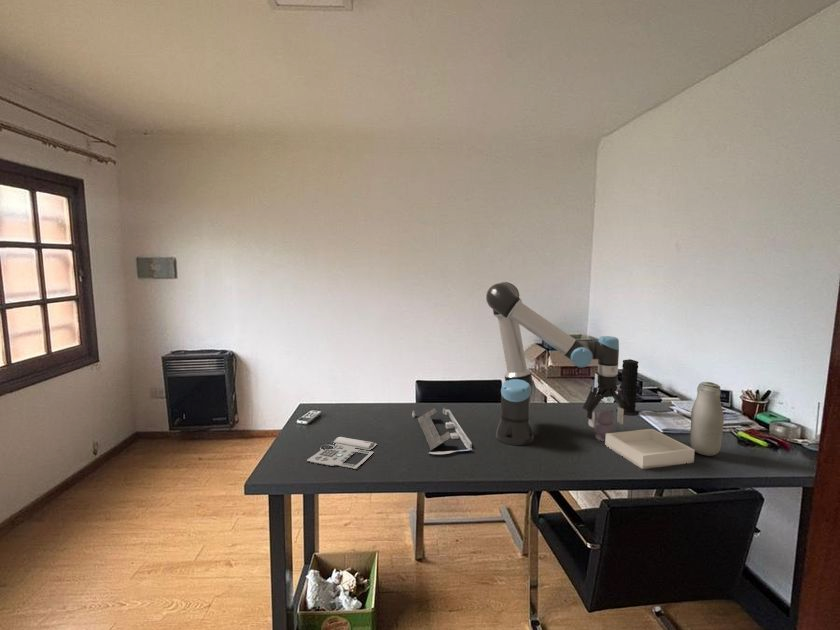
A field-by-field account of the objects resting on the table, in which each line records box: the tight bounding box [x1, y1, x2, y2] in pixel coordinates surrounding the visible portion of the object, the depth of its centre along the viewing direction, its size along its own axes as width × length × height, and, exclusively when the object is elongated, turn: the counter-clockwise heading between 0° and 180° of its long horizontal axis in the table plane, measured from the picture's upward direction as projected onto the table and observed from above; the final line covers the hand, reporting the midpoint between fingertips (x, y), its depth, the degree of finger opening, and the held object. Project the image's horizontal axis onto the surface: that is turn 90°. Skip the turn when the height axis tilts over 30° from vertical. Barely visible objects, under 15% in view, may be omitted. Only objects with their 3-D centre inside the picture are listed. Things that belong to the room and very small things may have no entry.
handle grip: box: [615, 358, 639, 417], centre depth 203 cm, size 10×26×10 cm
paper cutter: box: [411, 407, 473, 455], centre depth 178 cm, size 18×45×6 cm, turn 9°
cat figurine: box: [593, 409, 616, 442], centre depth 173 cm, size 8×8×12 cm
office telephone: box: [306, 436, 378, 470], centre depth 159 cm, size 23×3×20 cm
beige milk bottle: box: [689, 381, 725, 457], centre depth 158 cm, size 10×10×28 cm
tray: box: [604, 428, 696, 470], centre depth 159 cm, size 22×20×5 cm
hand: (605, 424), depth 172 cm, fingers open, 13 cm apart
